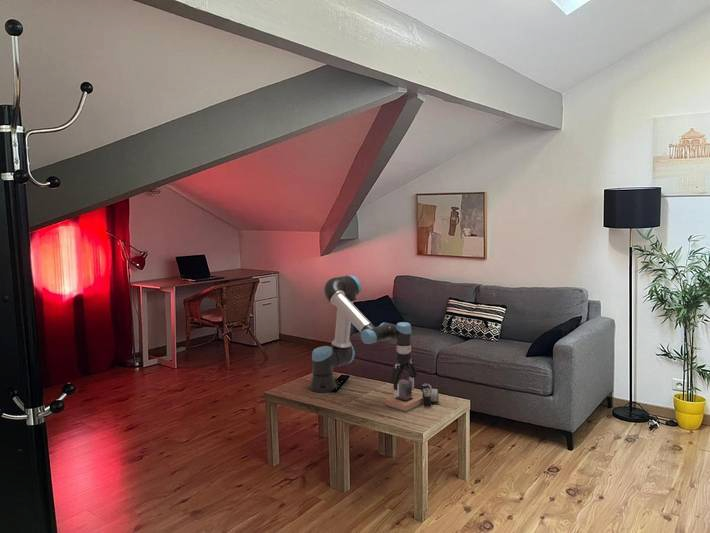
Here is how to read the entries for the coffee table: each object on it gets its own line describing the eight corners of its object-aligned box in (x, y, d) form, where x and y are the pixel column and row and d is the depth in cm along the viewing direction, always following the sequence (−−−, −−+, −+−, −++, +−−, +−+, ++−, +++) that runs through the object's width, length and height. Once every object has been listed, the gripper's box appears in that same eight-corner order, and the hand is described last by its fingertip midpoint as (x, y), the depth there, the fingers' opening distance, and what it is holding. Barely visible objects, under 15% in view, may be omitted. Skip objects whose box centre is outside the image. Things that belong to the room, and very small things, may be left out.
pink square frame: (384, 405, 304) (384, 399, 304) (402, 397, 315) (402, 391, 314) (405, 412, 295) (405, 405, 294) (423, 404, 305) (423, 397, 305)
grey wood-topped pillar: (396, 403, 305) (396, 381, 303) (402, 400, 308) (402, 379, 307) (405, 406, 301) (405, 383, 299) (411, 403, 304) (411, 381, 303)
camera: (439, 408, 299) (439, 389, 298) (421, 408, 300) (421, 389, 299) (437, 397, 314) (437, 380, 313) (420, 397, 315) (420, 379, 314)
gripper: (394, 358, 290) (395, 400, 293) (423, 348, 307) (423, 387, 310) (383, 356, 295) (383, 397, 298) (412, 346, 312) (412, 384, 315)
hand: (404, 392), depth 304 cm, fingers open, 12 cm apart
